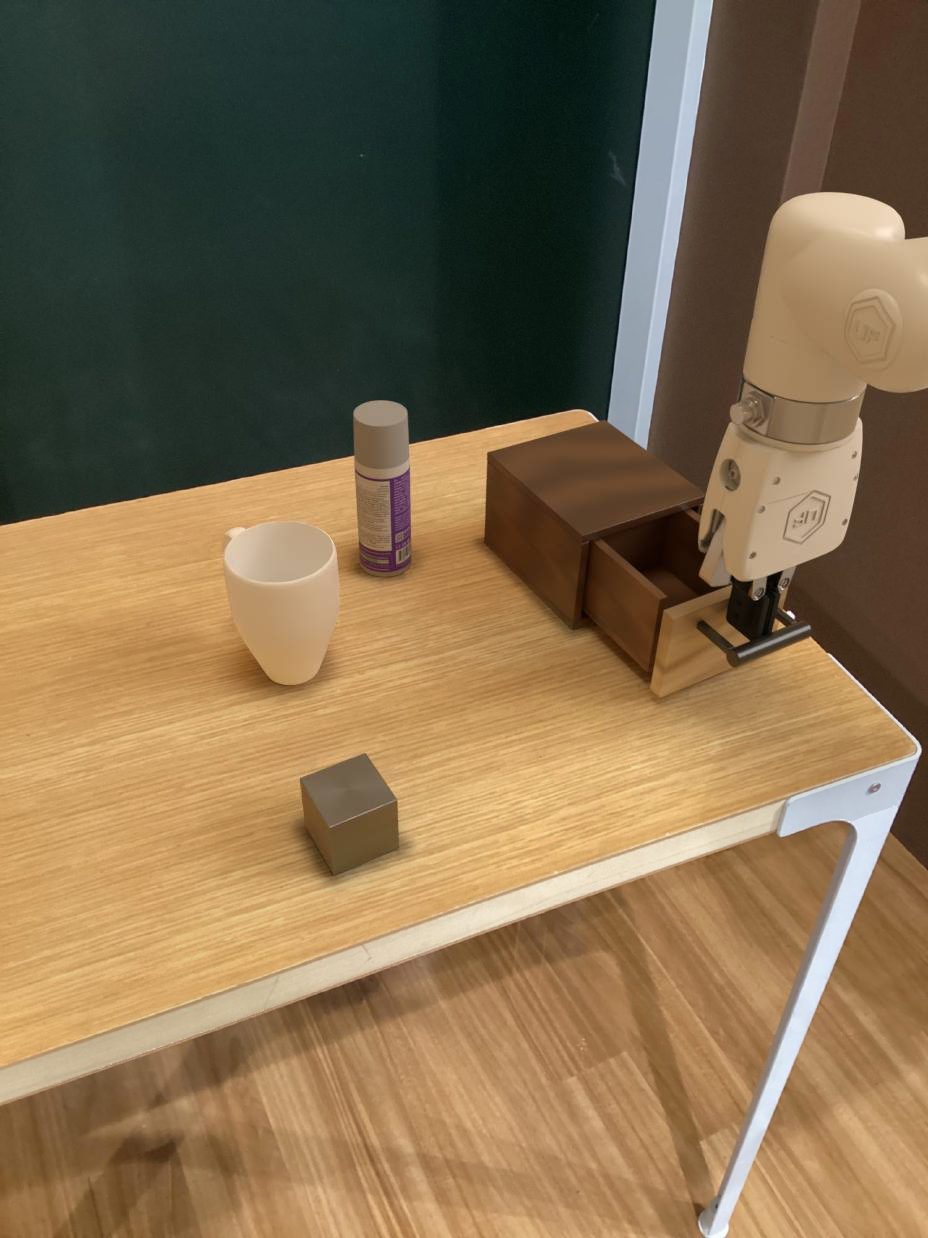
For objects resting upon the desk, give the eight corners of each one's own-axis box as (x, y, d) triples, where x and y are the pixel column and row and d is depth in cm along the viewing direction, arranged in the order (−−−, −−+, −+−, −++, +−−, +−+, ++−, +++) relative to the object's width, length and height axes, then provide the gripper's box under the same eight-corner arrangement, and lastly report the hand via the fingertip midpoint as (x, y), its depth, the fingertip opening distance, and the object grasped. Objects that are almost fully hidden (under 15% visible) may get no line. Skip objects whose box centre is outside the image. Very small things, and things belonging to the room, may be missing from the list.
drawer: (814, 688, 83) (838, 609, 78) (700, 738, 79) (718, 658, 74) (667, 565, 95) (680, 490, 90) (561, 602, 91) (568, 526, 86)
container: (399, 542, 99) (395, 395, 90) (419, 569, 96) (418, 419, 86) (352, 554, 97) (343, 405, 88) (371, 582, 94) (364, 431, 85)
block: (368, 800, 75) (365, 752, 72) (399, 848, 71) (398, 799, 68) (304, 826, 73) (298, 777, 70) (333, 876, 69) (329, 828, 66)
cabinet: (690, 587, 94) (707, 494, 88) (572, 630, 89) (582, 535, 83) (594, 507, 104) (604, 419, 98) (483, 542, 99) (487, 452, 93)
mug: (365, 672, 85) (359, 554, 78) (277, 719, 81) (262, 599, 73) (281, 600, 92) (268, 487, 85) (196, 640, 88) (175, 524, 80)
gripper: (747, 457, 62) (701, 691, 74) (927, 401, 68) (858, 626, 79) (667, 405, 67) (635, 631, 79) (840, 356, 73) (787, 574, 85)
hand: (747, 628), depth 79 cm, fingers closed
